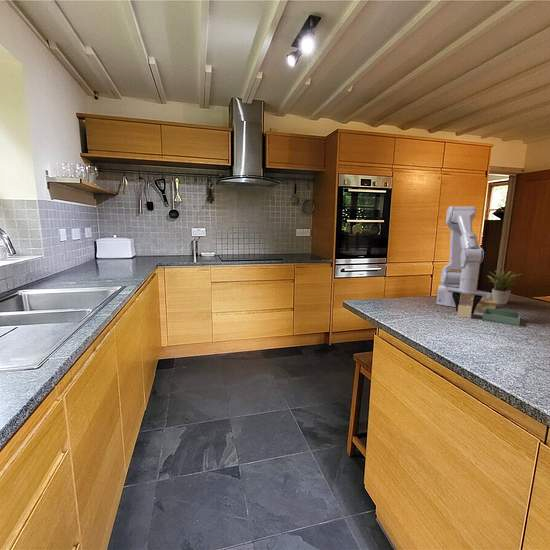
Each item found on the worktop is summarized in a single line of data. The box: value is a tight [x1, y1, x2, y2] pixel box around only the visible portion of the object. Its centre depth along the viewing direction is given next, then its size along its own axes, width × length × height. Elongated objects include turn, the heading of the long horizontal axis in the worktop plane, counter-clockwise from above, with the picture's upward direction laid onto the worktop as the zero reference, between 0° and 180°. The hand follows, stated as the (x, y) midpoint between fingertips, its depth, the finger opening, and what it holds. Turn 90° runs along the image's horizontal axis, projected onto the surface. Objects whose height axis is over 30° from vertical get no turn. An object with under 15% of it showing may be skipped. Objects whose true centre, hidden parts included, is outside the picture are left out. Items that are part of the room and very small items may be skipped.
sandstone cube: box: [456, 302, 473, 319], centre depth 118 cm, size 4×4×4 cm
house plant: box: [487, 269, 521, 305], centre depth 139 cm, size 14×14×16 cm
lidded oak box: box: [470, 296, 498, 314], centre depth 125 cm, size 9×6×5 cm, turn 51°
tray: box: [481, 308, 521, 327], centre depth 114 cm, size 11×11×2 cm
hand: (464, 312), depth 118 cm, fingers closed on sandstone cube, 4 cm apart
